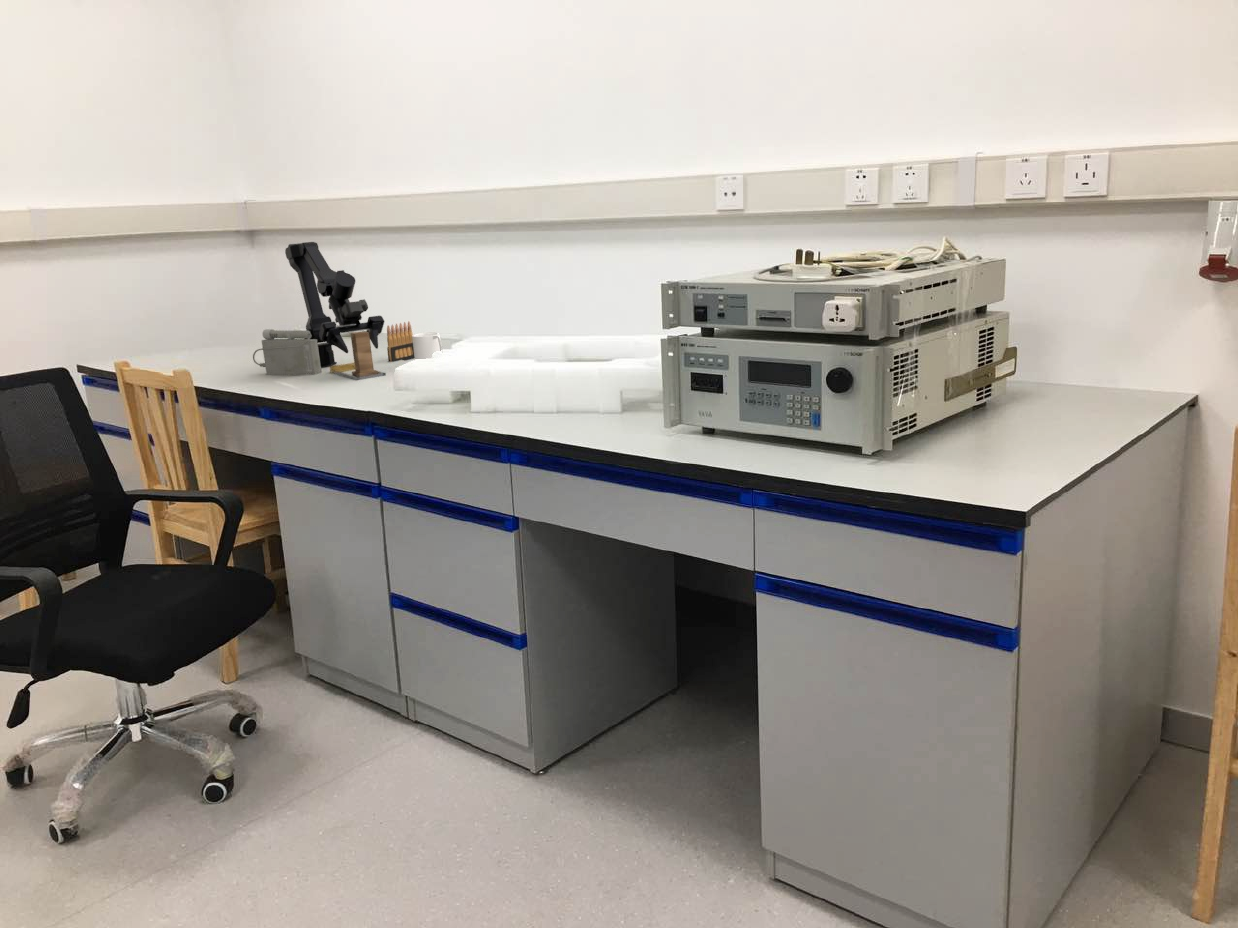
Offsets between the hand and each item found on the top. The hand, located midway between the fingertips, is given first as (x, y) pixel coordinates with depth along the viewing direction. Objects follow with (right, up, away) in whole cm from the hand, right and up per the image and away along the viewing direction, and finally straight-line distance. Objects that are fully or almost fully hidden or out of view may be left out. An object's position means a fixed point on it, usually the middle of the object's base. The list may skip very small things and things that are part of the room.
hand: (362, 350), depth 293 cm
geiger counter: (-28, -6, +17) cm, 33 cm away
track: (-3, -7, +7) cm, 10 cm away
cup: (+18, -4, +13) cm, 23 cm away
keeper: (0, -7, +2) cm, 8 cm away
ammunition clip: (+5, 0, +30) cm, 31 cm away
